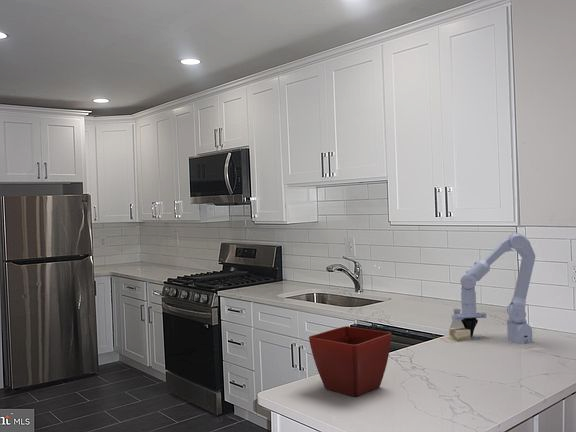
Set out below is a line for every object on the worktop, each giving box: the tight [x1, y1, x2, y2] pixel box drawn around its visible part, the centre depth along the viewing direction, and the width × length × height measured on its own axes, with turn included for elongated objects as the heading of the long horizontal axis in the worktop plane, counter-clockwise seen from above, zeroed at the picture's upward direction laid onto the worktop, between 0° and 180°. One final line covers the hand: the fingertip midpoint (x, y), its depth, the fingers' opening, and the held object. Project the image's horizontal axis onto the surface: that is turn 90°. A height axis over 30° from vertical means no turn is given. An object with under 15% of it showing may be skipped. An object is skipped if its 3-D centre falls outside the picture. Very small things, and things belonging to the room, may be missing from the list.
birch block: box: [448, 327, 472, 342], centre depth 220 cm, size 6×6×4 cm
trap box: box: [439, 334, 489, 343], centre depth 221 cm, size 7×18×2 cm, turn 102°
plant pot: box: [308, 325, 392, 397], centre depth 169 cm, size 19×19×17 cm
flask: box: [449, 308, 465, 329], centre depth 240 cm, size 7×7×10 cm
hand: (469, 336), depth 221 cm, fingers closed
